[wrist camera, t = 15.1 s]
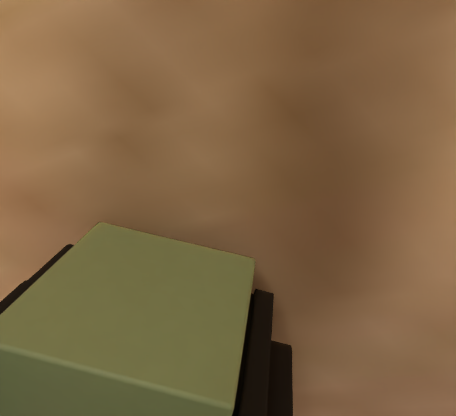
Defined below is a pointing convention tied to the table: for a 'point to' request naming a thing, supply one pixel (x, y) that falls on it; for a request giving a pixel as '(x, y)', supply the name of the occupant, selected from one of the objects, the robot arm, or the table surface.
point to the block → (128, 330)
